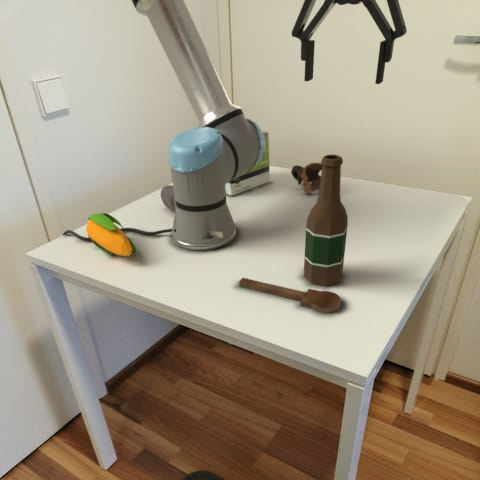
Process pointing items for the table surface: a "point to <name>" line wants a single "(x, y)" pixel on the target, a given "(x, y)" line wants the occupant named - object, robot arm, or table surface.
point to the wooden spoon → (298, 295)
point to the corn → (109, 235)
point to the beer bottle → (326, 228)
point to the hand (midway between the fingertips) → (342, 81)
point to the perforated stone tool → (168, 197)
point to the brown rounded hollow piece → (308, 176)
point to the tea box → (252, 174)
